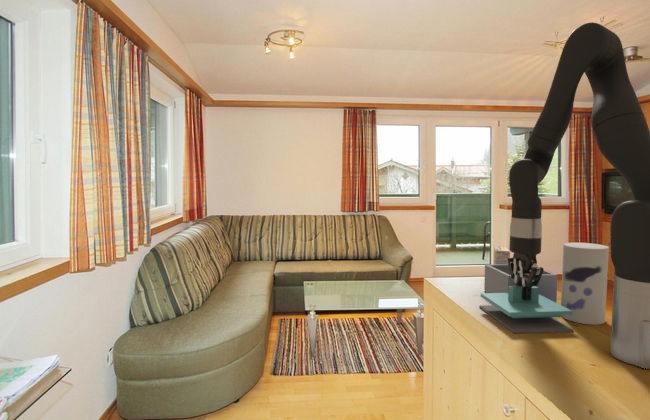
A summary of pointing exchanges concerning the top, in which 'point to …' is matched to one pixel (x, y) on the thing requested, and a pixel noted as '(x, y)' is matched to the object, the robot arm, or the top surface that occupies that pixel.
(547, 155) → the robot arm
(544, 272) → the storage box
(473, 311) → the top surface
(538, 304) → the lid
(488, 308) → the mat
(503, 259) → the supplement box
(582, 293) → the container
